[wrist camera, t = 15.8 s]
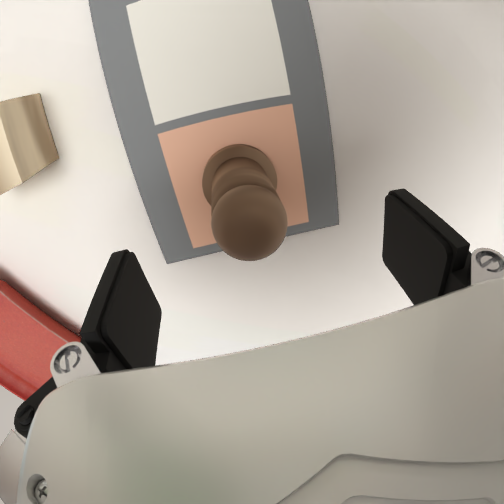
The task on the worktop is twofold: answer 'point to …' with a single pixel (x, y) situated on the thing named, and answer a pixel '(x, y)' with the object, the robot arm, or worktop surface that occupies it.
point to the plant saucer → (27, 343)
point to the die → (23, 140)
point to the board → (217, 106)
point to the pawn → (244, 202)
